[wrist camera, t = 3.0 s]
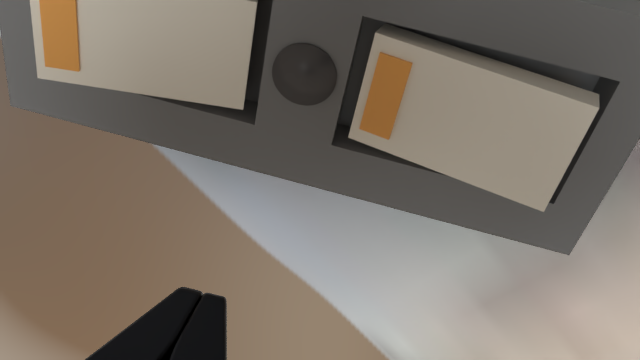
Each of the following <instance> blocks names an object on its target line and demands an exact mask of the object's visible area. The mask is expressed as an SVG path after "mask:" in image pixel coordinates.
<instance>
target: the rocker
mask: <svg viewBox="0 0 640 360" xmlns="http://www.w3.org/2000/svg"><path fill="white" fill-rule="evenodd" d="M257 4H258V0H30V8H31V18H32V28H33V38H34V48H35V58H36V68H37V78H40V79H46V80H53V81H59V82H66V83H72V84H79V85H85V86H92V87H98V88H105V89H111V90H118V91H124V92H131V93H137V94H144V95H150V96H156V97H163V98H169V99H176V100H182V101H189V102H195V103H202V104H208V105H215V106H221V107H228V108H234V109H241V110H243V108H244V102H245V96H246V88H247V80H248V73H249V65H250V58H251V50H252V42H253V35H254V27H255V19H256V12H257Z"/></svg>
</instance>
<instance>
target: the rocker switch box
mask: <svg viewBox="0 0 640 360" xmlns="http://www.w3.org/2000/svg"><path fill="white" fill-rule="evenodd" d="M385 23H386V24H389V25H392V26H395V27H398V28H401V29H404V30H407V31H410V32H413V33H416V34H419V35H422V36H425V37H428V38H431V39H434V40H437V41H440V42H443V43H446V44H449V45H452V46H455V47H458V48H461V49H464V50H467V51H470V52H473V53H476V54H479V55H482V56H485V57H488V58H491V59H494V60H498V61H501V62H504V63H507V64H510V65H513V66H516V67H519V68H522V69H525V70H528V71H531V72H534V73H537V74H540V75H543V76H546V77H549V78H552V79H555V80H558V81H561V82H564V83H567V84H570V85H573V86H576V87H579V88H582V89H585V90H588V91H591V92H594V93H597V94H599V110H598V112H597V114H596V115H595V117H594V119H593V121H592V123H591V125H590V127H589V129H588V130H587V132H586V134H585V136H584V138H583V140H582V142H581V143H580V145H579V147H578V149H577V151H576V153H575V155H574V157H573V158H572V160H571V162H570V164H569V166H568V168H567V170H566V171H565V173H564V175H563V177H562V179H561V181H560V183H559V184H558V186H557V188H556V190H555V192H554V194H553V196H552V198H551V199H550V201H549V203H548V205H547V207H546V209H545V211H544V212H542V211H539V210H537V209H534V208H531V207H529V206H526V205H524V204H521V203H518V202H516V201H513V200H510V199H508V198H505V197H503V196H500V195H497V194H495V193H492V192H490V191H487V190H484V189H482V188H479V187H476V186H474V185H471V184H469V183H466V182H463V181H461V180H458V179H455V178H453V177H450V176H448V175H445V174H442V173H440V172H437V171H435V170H432V169H429V168H427V167H424V166H421V165H419V164H416V163H414V162H411V161H408V160H406V159H403V158H400V157H398V156H395V155H393V154H390V153H387V152H385V151H382V150H380V149H377V148H374V147H372V146H369V145H366V144H364V143H361V142H359V141H356V140H353V139H351V138H348V136H349V132H350V128H351V124H352V120H353V117H354V113H355V109H356V105H357V101H358V97H359V93H360V89H361V86H362V82H363V78H364V74H365V70H366V66H367V62H368V59H369V55H370V51H371V47H372V43H373V39H374V35H375V32H376V31H377V30H378V29H380V28H381V27H382V26H383V25H384V24H385ZM0 30H1V37H2V45H3V52H4V59H5V67H6V74H7V82H8V89H9V97H10V104H11V106H13V107H17V108H21V109H24V110H28V111H32V112H36V113H39V114H43V115H47V116H51V117H54V118H58V119H62V120H66V121H70V122H73V123H77V124H81V125H84V126H88V127H92V128H95V129H99V130H103V131H107V132H110V133H114V134H118V135H122V136H126V137H129V138H133V139H137V140H140V141H145V142H148V143H152V144H155V145H159V146H163V147H167V148H170V149H174V150H178V151H182V152H185V153H189V154H193V155H196V156H200V157H204V158H208V159H211V160H215V161H219V162H223V163H226V164H230V165H234V166H238V167H241V168H245V169H249V170H253V171H256V172H260V173H264V174H268V175H271V176H275V177H279V178H283V179H286V180H290V181H294V182H298V183H301V184H305V185H309V186H312V187H316V188H320V189H324V190H327V191H331V192H335V193H339V194H342V195H346V196H350V197H354V198H357V199H361V200H365V201H369V202H372V203H376V204H380V205H384V206H387V207H391V208H395V209H399V210H402V211H406V212H410V213H413V214H417V215H421V216H425V217H428V218H432V219H436V220H440V221H443V222H447V223H451V224H455V225H458V226H462V227H466V228H470V229H473V230H477V231H481V232H485V233H488V234H492V235H496V236H500V237H503V238H507V239H511V240H514V241H518V242H522V243H526V244H529V245H533V246H537V247H541V248H544V249H548V250H552V251H556V252H559V253H563V254H567V255H569V254H570V253H571V251H572V249H573V248H574V246H575V245H576V243H577V241H578V240H579V238H580V236H581V235H582V233H583V231H584V230H585V228H586V226H587V225H588V223H589V221H590V220H591V218H592V216H593V215H594V213H595V211H596V210H597V208H598V206H599V205H600V203H601V201H602V200H603V198H604V196H605V195H606V193H607V191H608V190H609V188H610V186H611V185H612V183H613V181H614V180H615V178H616V177H617V175H618V173H619V172H620V170H621V168H622V167H623V165H624V163H625V162H626V160H627V158H628V157H629V155H630V153H631V152H632V150H633V148H634V147H635V145H636V143H637V142H638V140H639V138H640V0H258V4H257V12H256V19H255V27H254V35H253V42H252V50H251V58H250V65H249V73H248V80H247V88H246V96H245V102H244V108H243V110H241V109H234V108H228V107H221V106H215V105H208V104H202V103H195V102H189V101H182V100H176V99H169V98H163V97H156V96H150V95H144V94H137V93H131V92H124V91H118V90H111V89H105V88H98V87H92V86H85V85H79V84H72V83H66V82H59V81H53V80H46V79H40V78H37V68H36V58H35V48H34V38H33V28H32V18H31V8H30V0H0Z"/></svg>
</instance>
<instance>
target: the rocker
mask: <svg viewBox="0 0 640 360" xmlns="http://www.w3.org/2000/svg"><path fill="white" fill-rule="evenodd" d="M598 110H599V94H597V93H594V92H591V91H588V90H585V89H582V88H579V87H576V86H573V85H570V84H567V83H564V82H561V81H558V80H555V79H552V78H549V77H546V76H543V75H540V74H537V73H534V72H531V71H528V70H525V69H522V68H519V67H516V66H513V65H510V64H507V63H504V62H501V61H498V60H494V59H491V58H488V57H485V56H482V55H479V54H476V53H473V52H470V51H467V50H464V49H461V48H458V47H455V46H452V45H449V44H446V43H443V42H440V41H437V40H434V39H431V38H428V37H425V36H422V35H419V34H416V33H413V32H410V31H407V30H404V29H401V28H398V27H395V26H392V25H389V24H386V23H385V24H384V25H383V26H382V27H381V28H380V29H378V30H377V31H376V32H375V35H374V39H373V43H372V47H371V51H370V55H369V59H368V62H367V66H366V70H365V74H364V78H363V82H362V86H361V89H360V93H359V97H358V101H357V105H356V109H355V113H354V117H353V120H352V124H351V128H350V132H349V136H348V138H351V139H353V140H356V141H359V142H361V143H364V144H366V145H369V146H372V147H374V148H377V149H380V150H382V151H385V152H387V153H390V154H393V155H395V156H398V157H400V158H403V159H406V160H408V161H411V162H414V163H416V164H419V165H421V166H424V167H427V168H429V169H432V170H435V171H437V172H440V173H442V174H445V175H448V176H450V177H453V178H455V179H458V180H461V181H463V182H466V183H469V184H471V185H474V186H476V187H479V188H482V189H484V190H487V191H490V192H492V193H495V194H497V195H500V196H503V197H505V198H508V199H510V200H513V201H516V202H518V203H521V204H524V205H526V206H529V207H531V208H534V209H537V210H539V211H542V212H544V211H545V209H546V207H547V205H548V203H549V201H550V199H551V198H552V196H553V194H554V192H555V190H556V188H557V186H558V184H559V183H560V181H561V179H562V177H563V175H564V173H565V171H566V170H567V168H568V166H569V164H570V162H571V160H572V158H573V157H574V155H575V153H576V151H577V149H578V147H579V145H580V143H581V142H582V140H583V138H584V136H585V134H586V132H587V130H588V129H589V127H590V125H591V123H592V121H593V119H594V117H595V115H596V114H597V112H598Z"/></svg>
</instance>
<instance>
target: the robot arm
mask: <svg viewBox="0 0 640 360" xmlns="http://www.w3.org/2000/svg"><path fill="white" fill-rule="evenodd" d="M226 307H227V306H226V298H225V297H223V296H219V295H214V294H211V293H205V294H203V293H202V292H201V291H198V290H194V289H190V288H186V287H181V288H178V289H177V290H175V291H174V292H173V293H172V294H170V295H169V296H168V297H166V298H165V299H164V300H162V301H161V302H160V303H158V304H157V305H156V306H155V307H153V308H152V309H151V310H149V311H148V312H147V313H145V314H144V315H143V316H141V317H140V318H139V319H138V320H136V321H135V322H134V323H132V324H131V325H130V326H128V327H127V328H126V329H124V330H123V331H122V332H121V333H119V334H118V335H117V336H115V337H114V338H113V339H112V340H110V341H109V342H107V343H106V344H105V345H103V346H102V347H101V348H100V349H98V350H97V351H96V352H94V353H93V354H92V355H90V356H89V357H88V358H86V359H85V360H227V342H226V341H227V334H226V333H227V329H226V327H227V324H226V323H227V322H226V321H227V316H226V315H227V314H226V313H227V311H226V309H227V308H226Z"/></svg>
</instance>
